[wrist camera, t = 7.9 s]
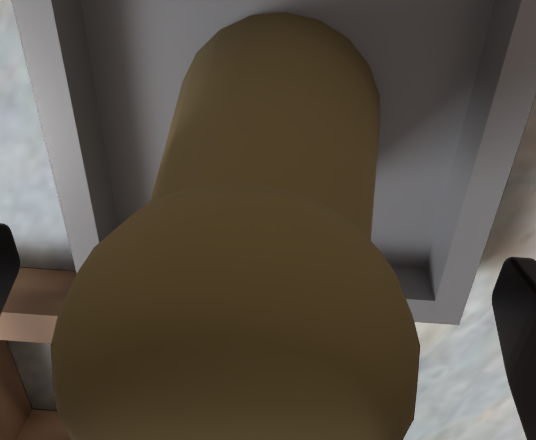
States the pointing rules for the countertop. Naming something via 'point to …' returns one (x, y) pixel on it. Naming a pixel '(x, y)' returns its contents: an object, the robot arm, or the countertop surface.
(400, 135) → the tray
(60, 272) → the pin holder
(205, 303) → the cork
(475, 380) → the countertop surface
